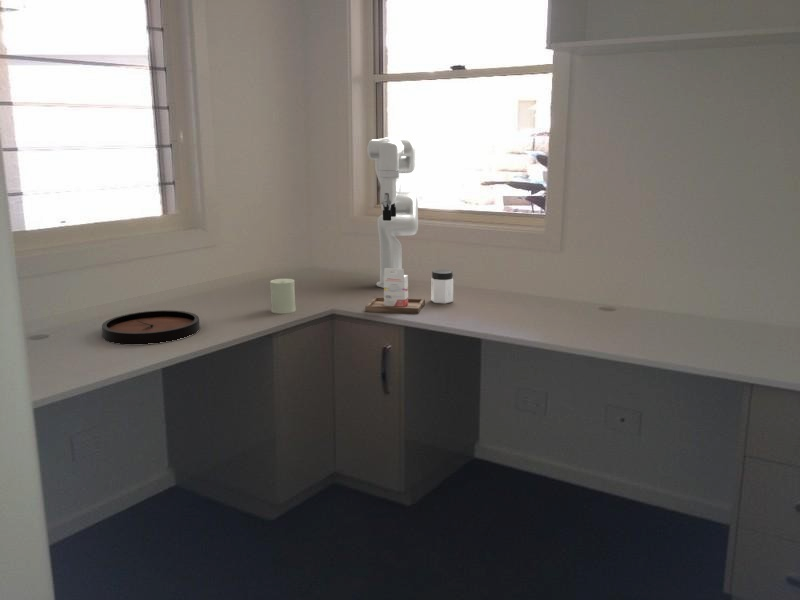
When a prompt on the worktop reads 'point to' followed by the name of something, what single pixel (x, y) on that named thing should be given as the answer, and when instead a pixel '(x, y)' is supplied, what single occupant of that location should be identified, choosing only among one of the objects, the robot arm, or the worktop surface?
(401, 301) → the ink cartridge box
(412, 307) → the tray
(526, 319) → the worktop surface
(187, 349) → the worktop surface
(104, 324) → the wall clock
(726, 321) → the worktop surface
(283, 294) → the can
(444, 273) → the jar
